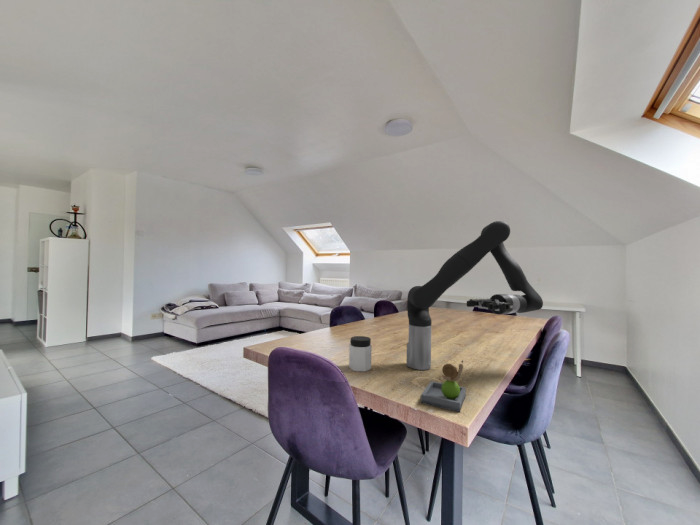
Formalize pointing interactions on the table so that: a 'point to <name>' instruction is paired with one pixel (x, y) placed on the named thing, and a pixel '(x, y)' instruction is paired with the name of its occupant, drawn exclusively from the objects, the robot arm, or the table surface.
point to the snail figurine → (451, 380)
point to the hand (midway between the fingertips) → (477, 305)
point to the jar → (360, 353)
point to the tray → (442, 397)
